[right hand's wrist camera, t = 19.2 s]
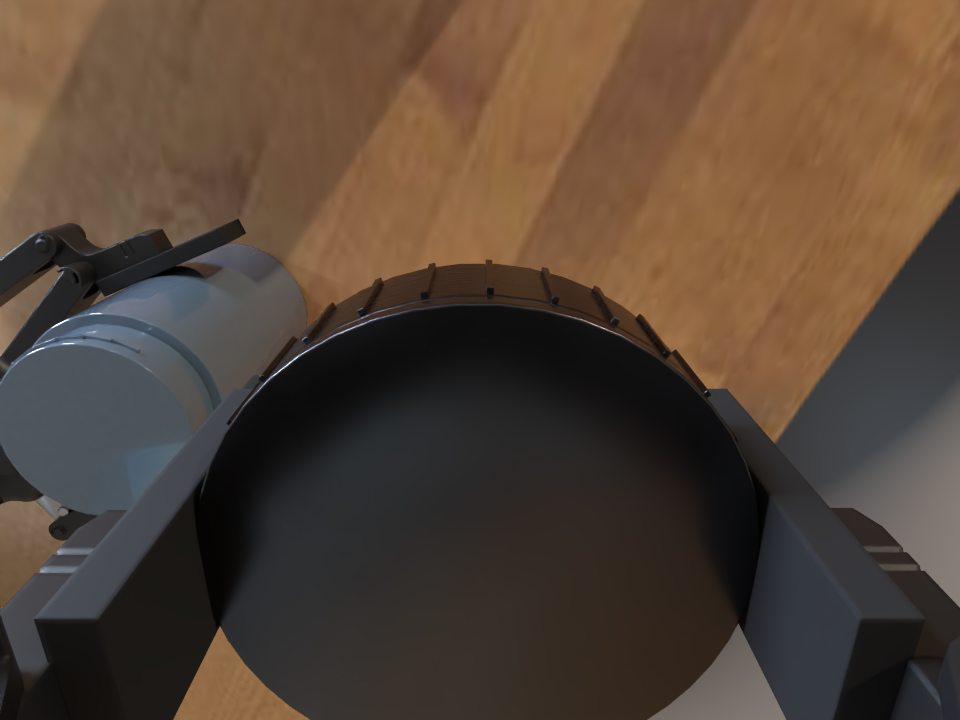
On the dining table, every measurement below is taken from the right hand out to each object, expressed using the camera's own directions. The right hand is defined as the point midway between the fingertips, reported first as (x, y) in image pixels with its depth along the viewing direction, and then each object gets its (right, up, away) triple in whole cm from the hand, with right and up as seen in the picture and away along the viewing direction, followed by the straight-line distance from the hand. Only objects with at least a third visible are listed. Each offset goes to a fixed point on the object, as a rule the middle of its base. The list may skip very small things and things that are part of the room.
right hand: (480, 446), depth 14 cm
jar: (-14, +5, +24) cm, 29 cm away
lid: (0, -1, -3) cm, 4 cm away
